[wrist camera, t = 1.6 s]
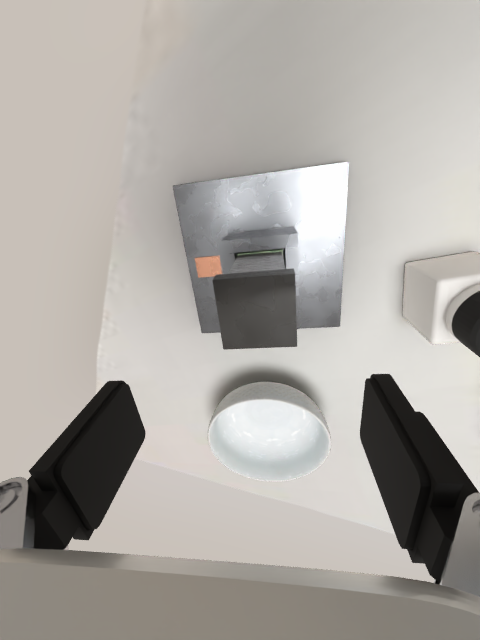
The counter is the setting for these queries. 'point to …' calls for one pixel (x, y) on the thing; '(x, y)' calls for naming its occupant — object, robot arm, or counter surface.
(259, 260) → the column
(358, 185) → the counter surface
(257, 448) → the cereal bowl
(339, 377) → the counter surface
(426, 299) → the medicine bottle
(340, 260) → the stand base
